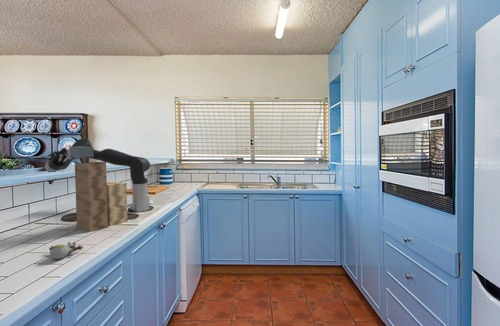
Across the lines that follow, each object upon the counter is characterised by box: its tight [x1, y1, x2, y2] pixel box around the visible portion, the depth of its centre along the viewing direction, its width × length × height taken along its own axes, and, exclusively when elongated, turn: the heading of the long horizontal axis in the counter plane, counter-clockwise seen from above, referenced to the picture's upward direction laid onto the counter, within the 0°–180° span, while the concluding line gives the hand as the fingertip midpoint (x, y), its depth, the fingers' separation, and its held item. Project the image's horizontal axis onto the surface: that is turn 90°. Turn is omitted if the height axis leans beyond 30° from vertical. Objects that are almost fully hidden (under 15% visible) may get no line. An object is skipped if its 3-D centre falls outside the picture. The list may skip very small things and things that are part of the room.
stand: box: [74, 161, 109, 233], centre depth 150 cm, size 9×12×33 cm
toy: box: [48, 241, 84, 260], centre depth 115 cm, size 12×5×15 cm
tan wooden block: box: [107, 181, 128, 227], centre depth 162 cm, size 10×12×21 cm
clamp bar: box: [64, 146, 94, 158], centre depth 155 cm, size 7×22×5 cm, turn 57°
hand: (68, 149), depth 158 cm, fingers closed on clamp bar, 2 cm apart
